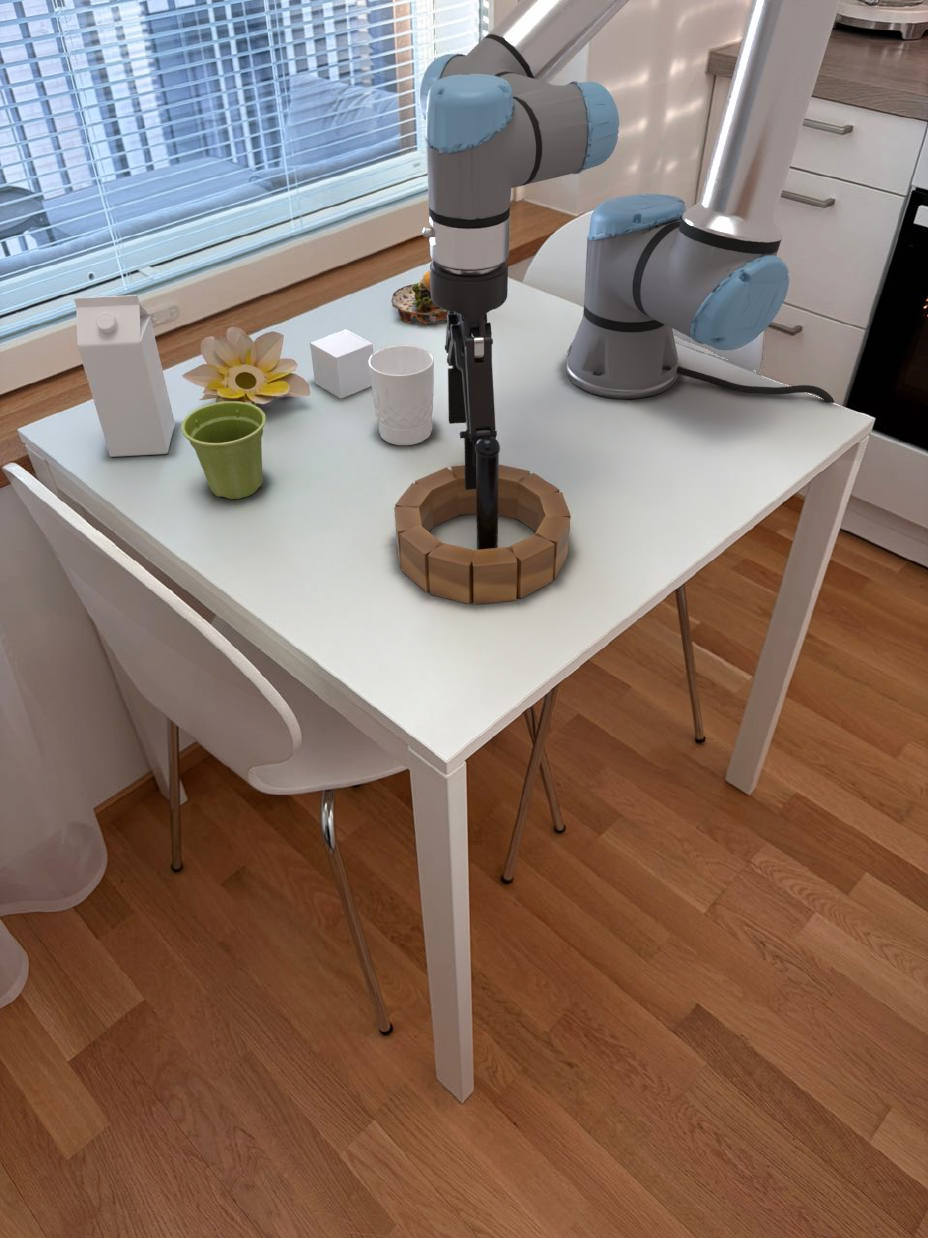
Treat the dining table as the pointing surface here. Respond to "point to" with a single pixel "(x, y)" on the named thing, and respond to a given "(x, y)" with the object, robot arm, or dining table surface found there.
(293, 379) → the decorative flower
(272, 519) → the dining table surface
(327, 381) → the white cube
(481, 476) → the peg
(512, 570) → the ring
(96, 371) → the milk carton
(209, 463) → the plant pot
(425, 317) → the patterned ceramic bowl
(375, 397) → the white cup
